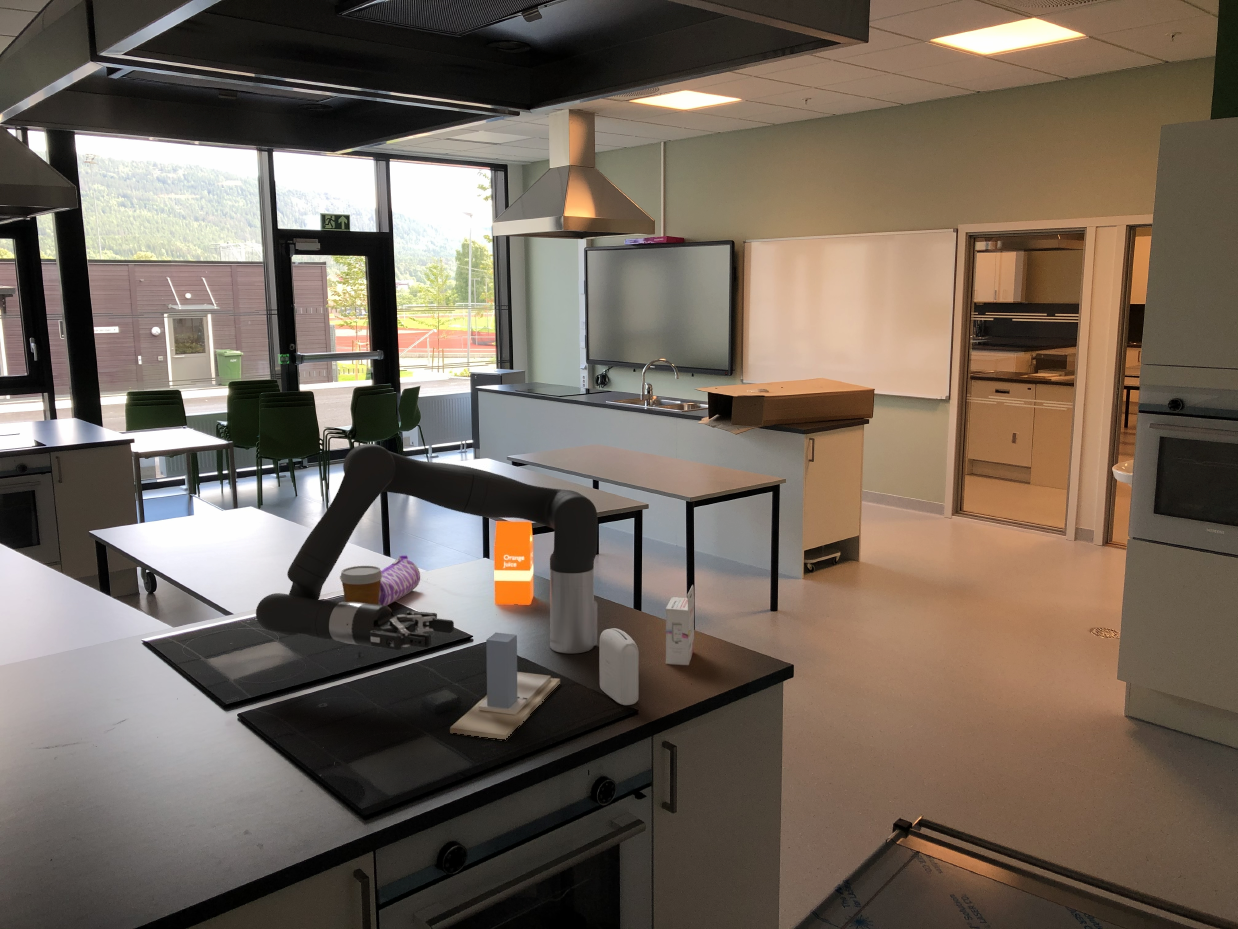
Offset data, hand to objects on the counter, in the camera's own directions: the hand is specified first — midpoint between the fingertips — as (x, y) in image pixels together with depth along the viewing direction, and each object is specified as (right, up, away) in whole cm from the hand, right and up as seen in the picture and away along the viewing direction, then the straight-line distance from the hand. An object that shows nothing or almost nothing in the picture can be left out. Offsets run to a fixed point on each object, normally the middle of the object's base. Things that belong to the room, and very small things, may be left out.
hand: (441, 633), depth 165 cm
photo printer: (+31, -13, +7) cm, 35 cm away
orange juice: (+5, -4, +67) cm, 67 cm away
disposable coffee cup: (-28, -6, +50) cm, 57 cm away
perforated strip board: (+12, -13, +2) cm, 18 cm away
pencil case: (-26, -4, +66) cm, 71 cm away
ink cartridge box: (+44, -10, +27) cm, 52 cm away
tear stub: (+11, -13, -1) cm, 17 cm away
